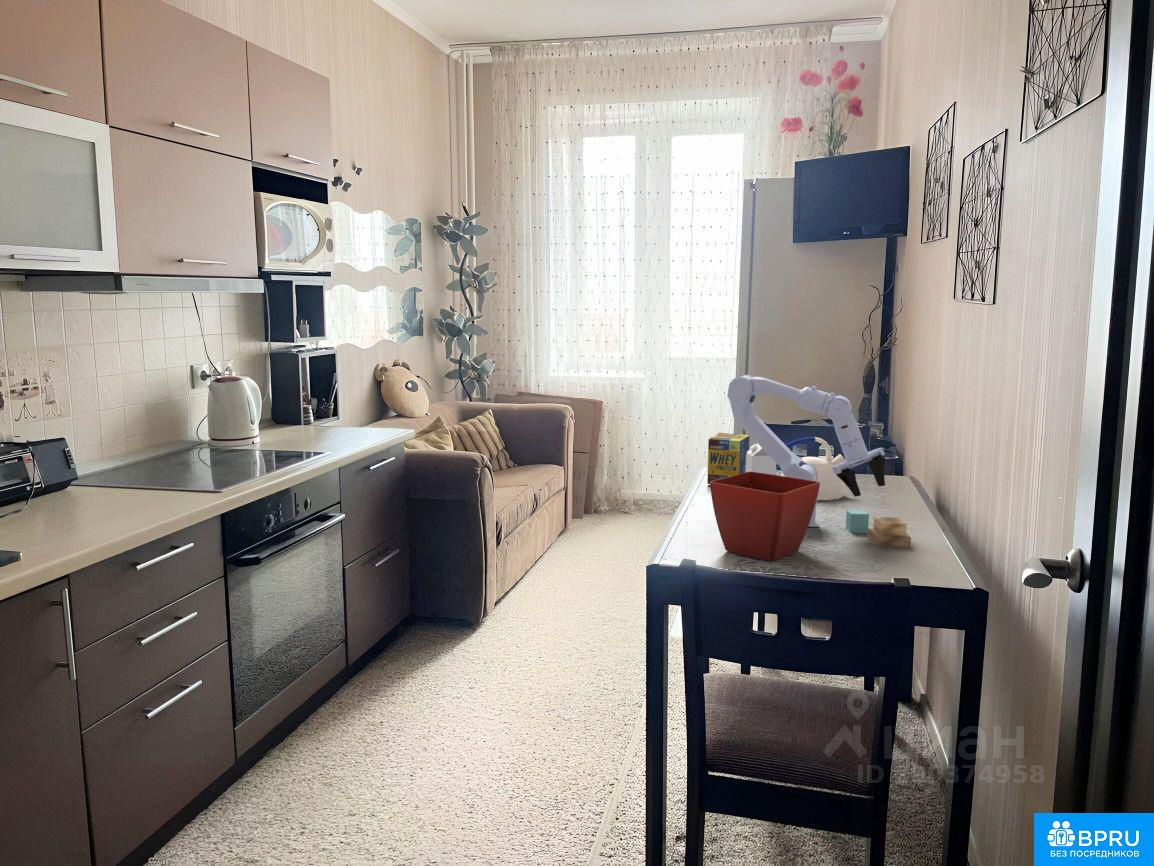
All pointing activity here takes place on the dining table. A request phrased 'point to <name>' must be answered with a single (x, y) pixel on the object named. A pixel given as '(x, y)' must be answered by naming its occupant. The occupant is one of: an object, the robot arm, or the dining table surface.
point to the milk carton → (759, 461)
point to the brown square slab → (888, 539)
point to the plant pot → (763, 513)
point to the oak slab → (889, 526)
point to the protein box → (727, 455)
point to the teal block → (857, 521)
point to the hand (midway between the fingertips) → (869, 490)
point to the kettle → (824, 470)
